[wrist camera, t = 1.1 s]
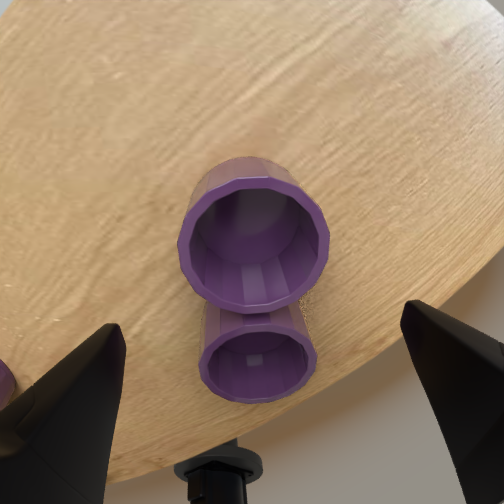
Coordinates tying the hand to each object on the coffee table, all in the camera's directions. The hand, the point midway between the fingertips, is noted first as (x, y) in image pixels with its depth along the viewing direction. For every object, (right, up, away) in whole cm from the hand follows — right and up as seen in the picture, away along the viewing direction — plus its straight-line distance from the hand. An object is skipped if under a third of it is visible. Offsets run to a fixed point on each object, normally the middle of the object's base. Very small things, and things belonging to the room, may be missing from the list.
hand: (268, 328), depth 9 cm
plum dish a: (0, -2, +12) cm, 12 cm away
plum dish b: (-1, +4, +8) cm, 9 cm away
